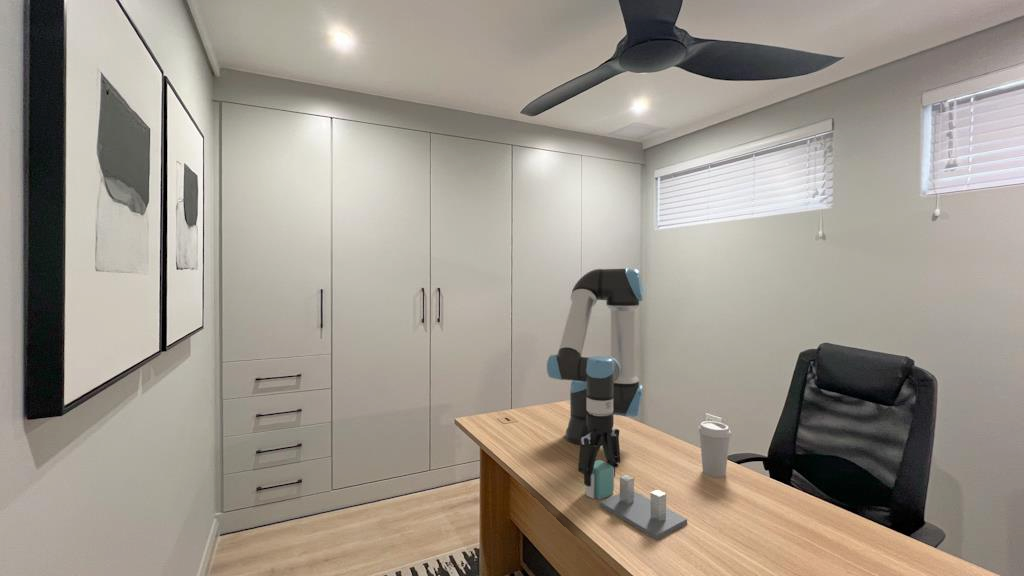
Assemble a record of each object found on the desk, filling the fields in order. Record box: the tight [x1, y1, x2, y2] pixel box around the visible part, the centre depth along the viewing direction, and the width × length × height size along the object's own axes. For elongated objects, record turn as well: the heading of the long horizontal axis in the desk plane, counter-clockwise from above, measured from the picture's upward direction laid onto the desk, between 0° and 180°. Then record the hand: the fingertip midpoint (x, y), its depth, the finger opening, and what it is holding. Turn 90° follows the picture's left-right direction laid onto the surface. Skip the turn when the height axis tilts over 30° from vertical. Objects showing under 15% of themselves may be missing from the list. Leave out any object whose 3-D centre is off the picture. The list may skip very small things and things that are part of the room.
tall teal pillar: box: [592, 459, 614, 500], centre depth 121 cm, size 5×5×8 cm
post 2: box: [650, 489, 667, 523], centre depth 105 cm, size 3×3×6 cm
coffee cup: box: [697, 420, 732, 478], centre depth 133 cm, size 10×10×15 cm
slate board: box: [599, 491, 688, 541], centre depth 110 cm, size 18×12×1 cm, turn 34°
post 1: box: [619, 474, 635, 505], centre depth 114 cm, size 3×3×6 cm
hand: (599, 492), depth 121 cm, fingers open, 7 cm apart
